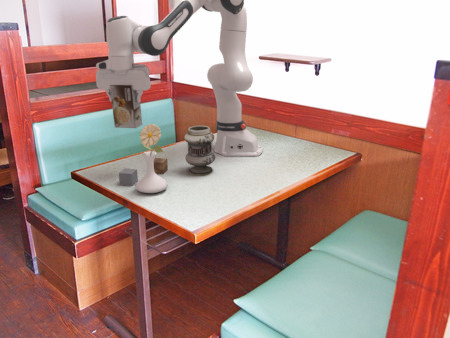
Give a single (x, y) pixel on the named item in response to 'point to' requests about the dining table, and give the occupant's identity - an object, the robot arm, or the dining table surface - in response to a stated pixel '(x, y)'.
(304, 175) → the dining table surface
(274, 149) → the dining table surface
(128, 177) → the slate grey block
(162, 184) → the flower in vase
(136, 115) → the coffee box
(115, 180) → the dining table surface
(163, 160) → the walnut block
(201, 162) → the apothecary jar
